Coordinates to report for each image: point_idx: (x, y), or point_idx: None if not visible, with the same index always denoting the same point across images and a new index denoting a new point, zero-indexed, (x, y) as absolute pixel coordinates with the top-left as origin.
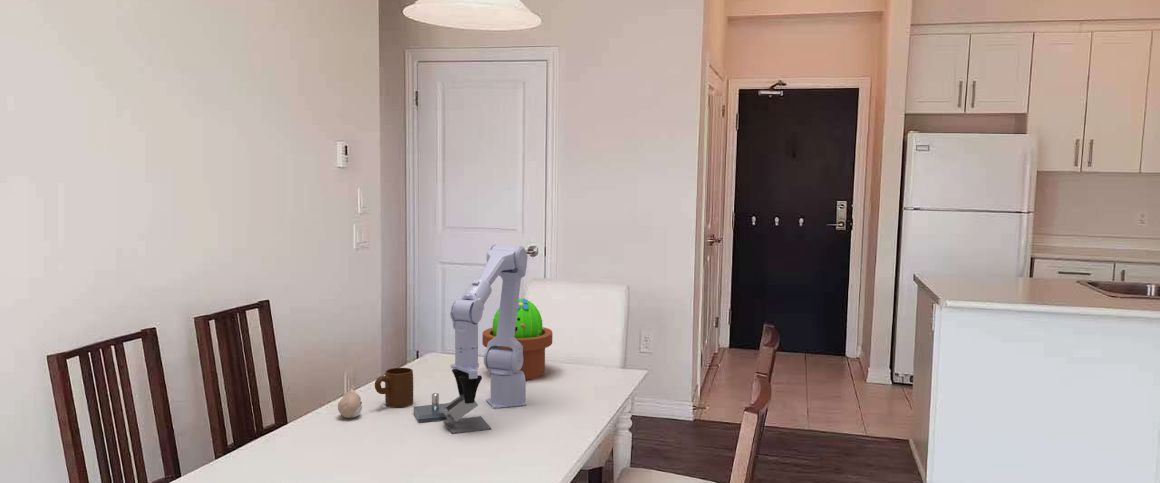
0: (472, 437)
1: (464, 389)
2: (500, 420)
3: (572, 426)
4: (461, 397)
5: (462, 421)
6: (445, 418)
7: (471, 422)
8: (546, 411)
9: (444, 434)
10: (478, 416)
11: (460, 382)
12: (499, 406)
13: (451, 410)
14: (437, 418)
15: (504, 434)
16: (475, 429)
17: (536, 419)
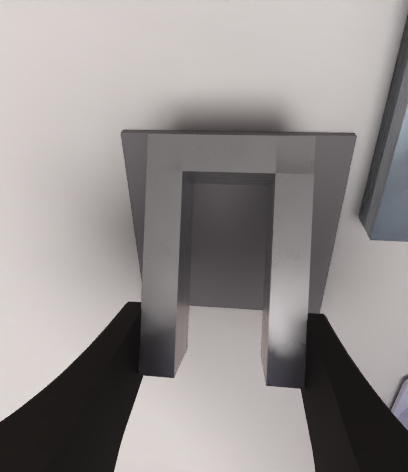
0: (59, 209)
1: (43, 390)
2: (246, 352)
3: (119, 460)
4: (267, 316)
5: None
6: (378, 156)
7: (246, 257)
8: (277, 465)
9: (126, 89)
10: (319, 304)
11: (331, 427)
12: (399, 398)
13: (150, 191)
14: (392, 105)
15: (79, 317)
16: (138, 246)
17: (210, 427)
